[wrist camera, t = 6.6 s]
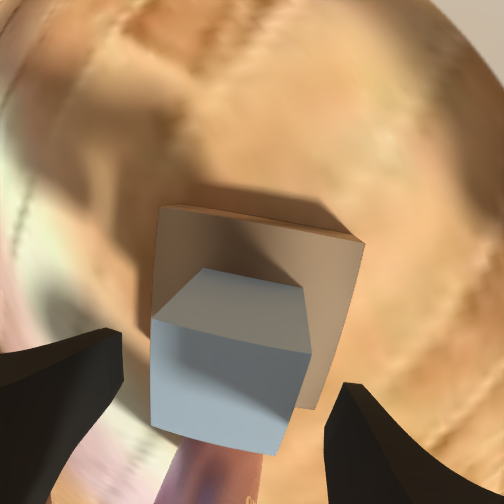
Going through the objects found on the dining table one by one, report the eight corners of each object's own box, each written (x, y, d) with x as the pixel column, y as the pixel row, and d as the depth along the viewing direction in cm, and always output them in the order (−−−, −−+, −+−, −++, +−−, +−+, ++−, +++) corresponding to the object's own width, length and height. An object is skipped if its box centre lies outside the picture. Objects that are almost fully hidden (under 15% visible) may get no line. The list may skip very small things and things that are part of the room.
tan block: (351, 233, 15) (365, 243, 12) (311, 378, 17) (314, 409, 14) (182, 202, 16) (159, 206, 13) (168, 349, 18) (150, 374, 15)
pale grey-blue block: (303, 288, 13) (312, 354, 8) (281, 371, 14) (275, 456, 8) (203, 267, 13) (151, 318, 8) (193, 352, 14) (150, 425, 9)
